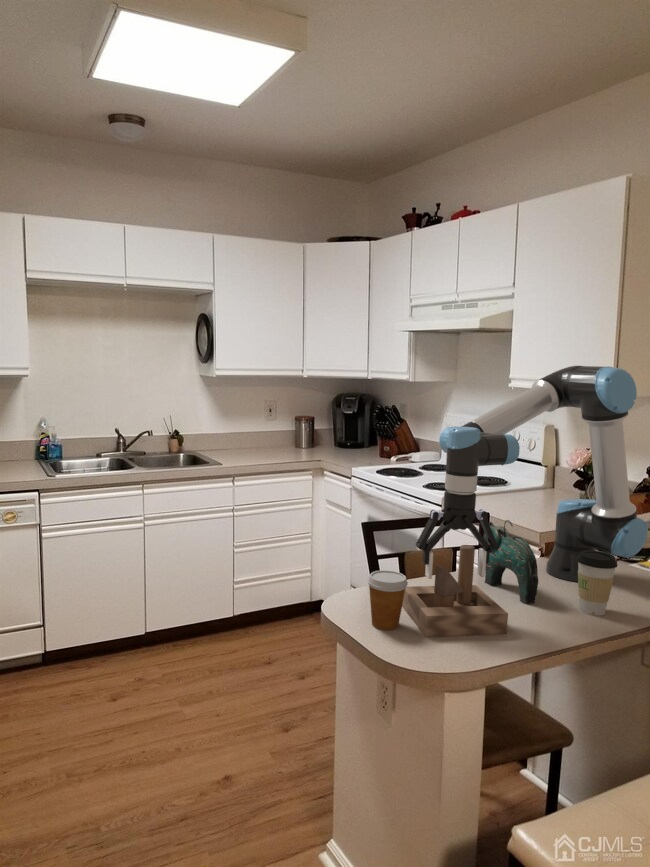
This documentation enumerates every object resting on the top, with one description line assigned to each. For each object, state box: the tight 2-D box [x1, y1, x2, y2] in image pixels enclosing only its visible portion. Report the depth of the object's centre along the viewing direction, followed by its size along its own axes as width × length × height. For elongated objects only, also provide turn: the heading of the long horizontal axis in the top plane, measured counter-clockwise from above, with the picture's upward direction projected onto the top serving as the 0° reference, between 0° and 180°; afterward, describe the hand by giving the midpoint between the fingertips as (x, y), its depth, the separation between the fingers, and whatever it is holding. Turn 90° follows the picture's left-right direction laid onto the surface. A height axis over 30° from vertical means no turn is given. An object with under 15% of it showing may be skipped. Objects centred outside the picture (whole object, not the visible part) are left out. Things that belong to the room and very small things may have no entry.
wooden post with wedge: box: [434, 544, 476, 607], centre depth 162 cm, size 4×11×18 cm, turn 125°
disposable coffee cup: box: [367, 569, 409, 631], centre depth 157 cm, size 10×10×12 cm
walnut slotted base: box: [402, 584, 509, 638], centre depth 163 cm, size 20×19×5 cm
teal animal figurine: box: [483, 519, 539, 605], centre depth 183 cm, size 20×6×20 cm, turn 23°
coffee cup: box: [577, 550, 619, 617], centre depth 171 cm, size 10×10×15 cm
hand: (454, 576), depth 162 cm, fingers open, 13 cm apart
